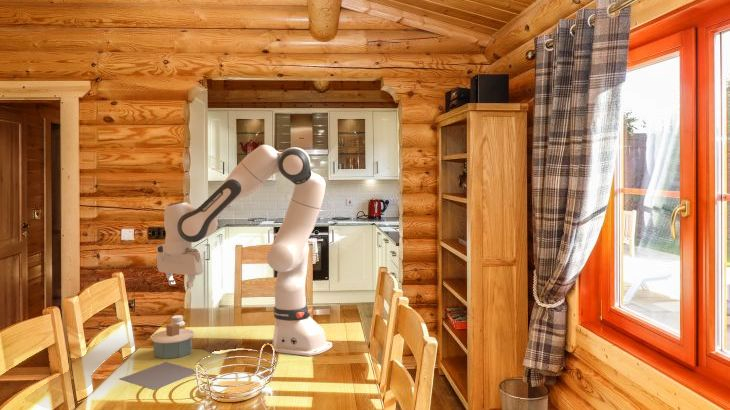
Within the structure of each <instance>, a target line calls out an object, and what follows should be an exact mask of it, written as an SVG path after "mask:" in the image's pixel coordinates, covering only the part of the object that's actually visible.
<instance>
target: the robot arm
mask: <svg viewBox="0 0 730 410" xmlns="http://www.w3.org/2000/svg"><path fill="white" fill-rule="evenodd" d="M310 157H311V156H310V155H309V154H308V153H307V151H306V150H304V149H303V148H302V147H297V146H294V147H292V146H291V147H289V148H287V149H284V150H280V151H278V150H276V148H274V147H272V145H268V144H261V145H258V146H257V147H256V148H255V149H253V150H252V151H251V152H249V154H247V155H246V156H245V157H244V158H242V160H240V162H239V163H238V164H237V165H236V166H235V167H234V169H233V170H232V171H231V172H230V174H229V175H228V176H227V177H226V178H225V180H224V181H223V183H221V185H220V186H219V187H218V188H217V189H216V190H215V191H214V192H213V193H212V194H211V195H210V196H209V197H208V198H207V199H206V200H204V202H202V204H201V205H200V206H199V207H195V206H193V205H191V204H190V203H189V202H187V201H179V202H174V203H169V204H168V205H166V207H165V209H164V215H163V217H164V218H163V220H164V221H163V223H164V225H163V226H164V227H163V228H164V231H165V238H164V240H165V241H164V243H163V244H160V245H158V246H156V247H155V250H156V254H157V255H156V266H157V267H156V268H157V271H158V272H159V273H165V277H166V279H167V281H168V285H169V286H175V285H176V279H174V277H173V275H174V274H176V275H184V276H187V278H188V280H187V282H186V283H185V284H186V288H193V287H194V282H195V279H196V276H199V275H202V274H203V272H204V268H203V266H204V265H203V260H202V256H201V253H200V251H199V250H198V249H197V248H193V244H192V243H197V242H200V241H201V240H203V239H206V238H207V237H210V236H211V235H213V234H214V233H215V232H216V231H217V229H218V226H219V221H218V216H219V215H220V214H222V212H223V211H224V210H225V209H226V208H227V207H228V206H229V205H231V204H232V203H234V202H236V201H238V200H240V199H242V198H245V197H248V196H250V195H251V194H253V193H254V192H256V191H258V189H260V188H261V187H262V186H263V185H264V184H265V183H266V182H267V181H268V180H269V179H270V178H271V177H272V176H273V175H275V174H279V173H280V174H281V175H282V176H283V177H284V178H285V179H287V180H289V181H290V182H292V183H293V184H294V189H293V193H292V195H291V198H290V201H289V204H288V207H287V210H286V213H285V216H284V219H283V221H282V223H281V225H280V227H279V228H278V232H276V236H275V238H274V240H273V242H272V245H271V246H270V248H269V249H268V252H267V253H266V260H267V264H268V265H269V267H270V268H271V270H273V271H276V272H277V273H276V281H275V283H274V307H273V317H274V329H273V330H274V331H273V338H272V343H271V346H272V345H273V346H274V348H275V351H276V352H275V353H282V354H288V355H289V354H291V355H297V356H299V355H300V356H306V357H311V356H316V355H319V354H322V353H324V352H327V351H329V350H330V349H331V348H332V347H333V342H331V341H328V340H327V337H326V333H325V332H326V331H325V329H324V328H323V327H322V326H321V325H320V324H319V323H318V322H316V321H315V320H314V319H313V318H312V317H311V315H310V313H312V312H313V311H312V310H313V308H310V309H309V308H308V306H307V304H306V302H307V301H306V298H307V297H306V281H307V272H308V261H309V254H310V246H309V243H308V241H309V238H310V236H311V234H312V232H313V231H314V229H315V226H316V223H317V220H318V218H319V215H320V211H321V209H322V205H323V202H324V198H325V193H326V187H327V186H326V180H325V179H324V177H322V176H321V175H320V174H318V173H315V172H313V171H312V168H311V158H310Z"/></svg>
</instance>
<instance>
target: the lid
mask: <svg viewBox="0 0 730 410" xmlns="http://www.w3.org/2000/svg"><path fill="white" fill-rule="evenodd" d="M165 327H166V329H165V330H162V331H161V330H160V331H159V332H156V333H154V334H152V335H151V341H152V342H153V343H154V342H156V343H175V342H181V341H185V340H188V339H190V338H193V337H194V336H195V332H194V331H193V330H192V329H187V328H185V329H179V324H175V323H172V324H170V323H169V324H166V325H165Z"/></svg>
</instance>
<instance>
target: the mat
mask: <svg viewBox="0 0 730 410" xmlns="http://www.w3.org/2000/svg"><path fill="white" fill-rule="evenodd" d="M194 370H195V369H194V368H190V367H186V366H184V365H183V366H182V365H180V364H176V363H171V362H167V361H164V362H162V363H159V364H156V365H153V366H151V367H147V368H145V369H142V370H140V371H139V370H138V371H136V372H134V373H132V374H128V375H125V376H122V377H119V380H121V381H123V382H128V383H131V384H134V385H136V386H140V387H143V388H147V389H150V390H153V391H156V390H159V389H161V388H164V387H166V386H168V385H171V384H173V383H176V382H178V381H181V380H183V379H185V378H187V377H191V376H192V375H195V374H196V373H195V371H194Z"/></svg>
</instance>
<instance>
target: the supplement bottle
mask: <svg viewBox="0 0 730 410" xmlns="http://www.w3.org/2000/svg"><path fill="white" fill-rule="evenodd" d="M172 323H175V324H179V329H186V322H185V321H184V316H183V315H179V314H178V315H173V316H171V322H170V323H169V324H172Z"/></svg>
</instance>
